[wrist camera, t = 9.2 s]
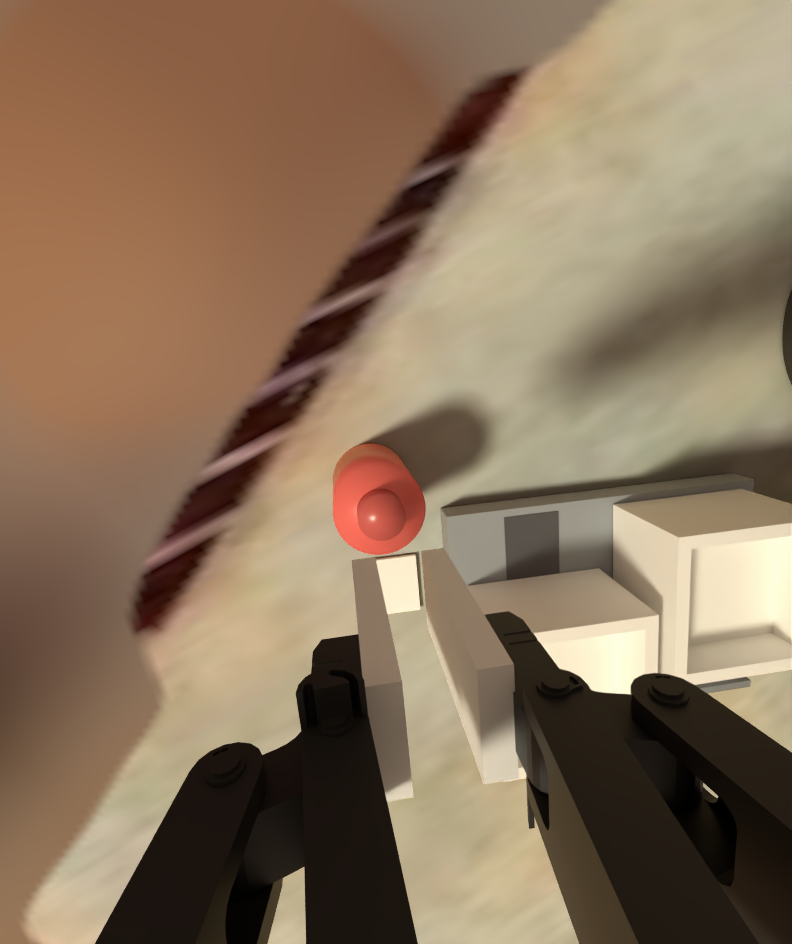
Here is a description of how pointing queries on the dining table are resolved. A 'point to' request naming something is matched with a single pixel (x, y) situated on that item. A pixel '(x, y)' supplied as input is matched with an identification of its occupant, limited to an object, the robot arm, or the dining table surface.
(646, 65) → the dining table surface
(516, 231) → the dining table surface
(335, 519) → the red cylinder with knob
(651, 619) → the cream square open box
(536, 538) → the panel
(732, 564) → the cream square open box
